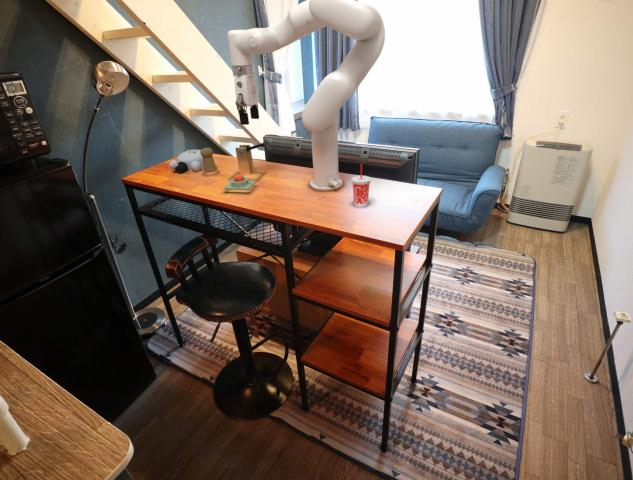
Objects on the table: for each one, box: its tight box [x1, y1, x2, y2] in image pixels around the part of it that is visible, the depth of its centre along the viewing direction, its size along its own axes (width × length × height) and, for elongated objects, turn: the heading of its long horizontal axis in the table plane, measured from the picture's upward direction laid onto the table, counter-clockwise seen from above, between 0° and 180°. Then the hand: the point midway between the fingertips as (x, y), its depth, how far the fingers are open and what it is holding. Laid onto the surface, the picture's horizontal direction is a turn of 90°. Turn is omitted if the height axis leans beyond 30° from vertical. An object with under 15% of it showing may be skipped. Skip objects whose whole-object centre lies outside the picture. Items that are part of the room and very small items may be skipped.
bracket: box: [235, 144, 255, 176], centre depth 142 cm, size 12×9×13 cm
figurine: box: [168, 149, 204, 175], centre depth 156 cm, size 17×8×20 cm
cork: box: [200, 147, 218, 173], centre depth 149 cm, size 6×6×11 cm
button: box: [233, 174, 245, 182], centre depth 131 cm, size 4×4×2 cm
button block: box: [223, 176, 257, 195], centre depth 132 cm, size 10×8×4 cm
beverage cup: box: [351, 163, 371, 208], centre depth 112 cm, size 6×6×14 cm
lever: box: [245, 139, 269, 153], centre depth 139 cm, size 12×5×2 cm, turn 77°
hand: (250, 121), depth 129 cm, fingers open, 9 cm apart
